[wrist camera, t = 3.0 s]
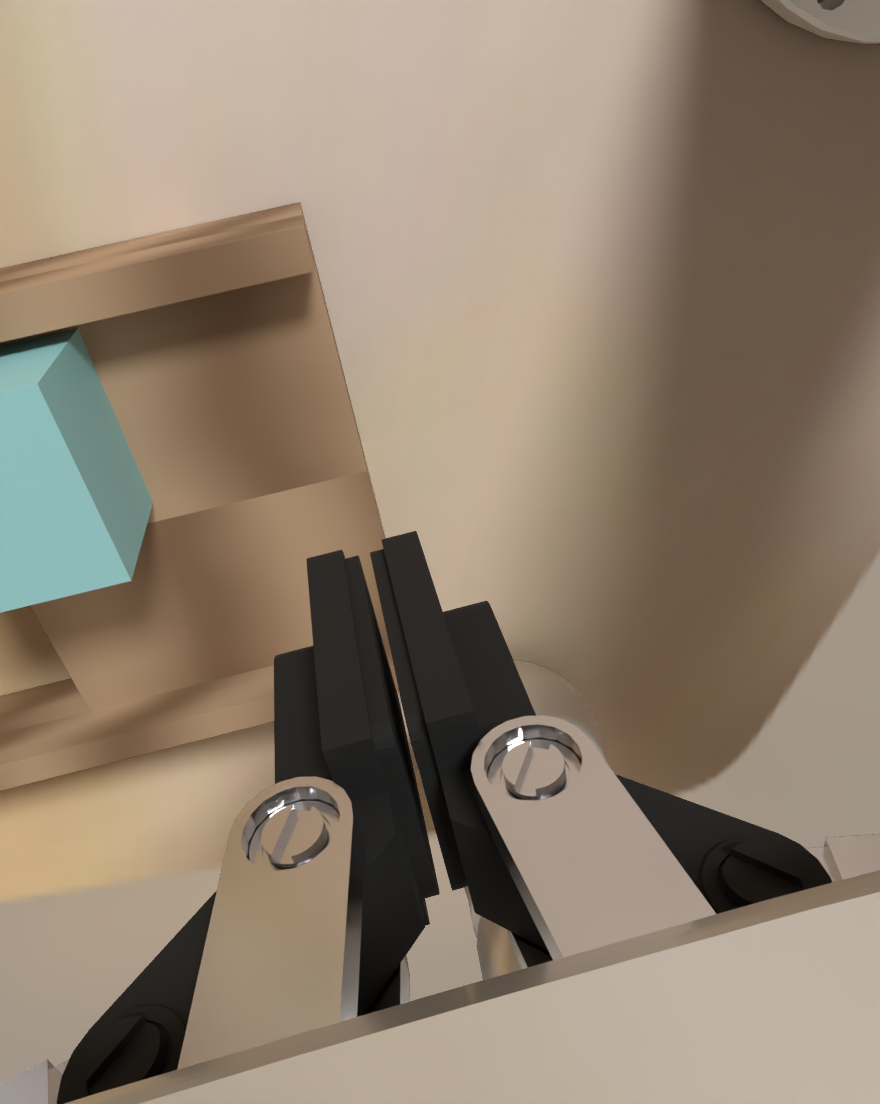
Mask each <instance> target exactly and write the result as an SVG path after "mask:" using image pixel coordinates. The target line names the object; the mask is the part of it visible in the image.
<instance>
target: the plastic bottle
mask: <svg viewBox="0 0 880 1104" xmlns="http://www.w3.org/2000/svg"><path fill="white" fill-rule="evenodd" d="M513 661H514V660H513ZM514 663H515V666H516V668H517V671H518V673H519V675H520V678H521V680H522V683H523V685H524V687H525V690H526V692H527V695H528V697H529V699H530V702H531V704H532V707H533V709H534V711H535V714H536V716H541V715H544V716H549V717H554V718H559V719H562V720H564V721H566V722H568V723H570V724H572V725H574V726H576V727H578V728H579V729H580V730H581V731H582V732H583V733H584V734H585V735H586V736H587V737H588V738H589V739H590V741H591V742H592V743H593V745H594V746H595V748H596V749H597V750H598V752H599V753H600V754H601V756H602V757H603V759H604V760H605V761H606V763H607V759H606V754H605V748H604V745H603V742H602V738H601V735H600V732H599V728H598V725H597V722H596V719H595V717H594V715H593V713H592V711H591V709H590V708H589V706H588V705H587V704H586V703H585V701H584V700H583V699H582V698H581V696H580V695H579V694H578V693H577V691H576V690H575V689H574V688H573V687H572V685H571V684H570V683H569V682H568V681H567V680H566V679H565V678H564V677H562V676H561V675H559V674H558V673H556V672H555V671H552V670H550V669H547V668H544V667H542V666H539V665H535V664H532V663H528V662H523V661H514ZM418 772H419V769H418ZM419 775H420V773H419ZM420 778H421V776H420ZM464 888H465V891H466V894H467V897H468V900H469V905H470V911H471V917H472V922H473V928H474V931H475V934H476V937H477V950H478V955H479V961H480V966H481V972H482V977H483V980H487V979H490V978H494V977H497V976H501V975H504V974H508V973H511V972H515V971H518V970H522V968H521V965H520V963H519V961H518V959H517V957H516V954H515V952H514V950H513V948H512V946H511V942H510V939H509V935H508V931H507V929H505V928H503V927H501V926H499V925H497V924H495V923H493V922H491V921H489V920H488V919H486V918H484V917H482V916H480V915H478V914H476V913H475V912H474V908H473V904H472V900H471V897H470V893H469V889H468V886H467V887H464Z"/></svg>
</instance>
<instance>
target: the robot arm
mask: <svg viewBox="0 0 880 1104" xmlns="http://www.w3.org/2000/svg"><path fill="white" fill-rule="evenodd" d="M761 1H762V2H763V3H764V4H766V5H767V6H768V7H769V8H771V9H772V10H773V11H774V12H776V13H777V14H778V15H779V16H781V17H782V18H783V19H784V20H786V21H787V22H789V23H791V24H794V25H796V26H798V27H800V28H803V29H805V30H807V31H810V32H812V33H814V34H816V35H819V36H821V37H823V38H827V39H834V40H841V41H847V42H854V43H861V44H877V43H880V0H761ZM381 541H382V545H383V549H381V550H377V551H373V552H370V557H371V561H372V566H373V571H374V575H375V580H376V585H377V589H378V594H379V599H380V603H381V608H382V613H383V617H384V622H385V627H386V631H387V636H388V641H389V645H390V650H391V655H392V660H393V664H394V669H395V674H396V678H397V683H398V688H399V692H400V697H401V702H402V706H403V711H404V715H405V720H406V724H407V728H408V732H409V736H410V740H411V744H412V747H413V751H414V755H415V758H416V762H417V765H418V769H419V773H420V776H421V780H422V783H423V787H424V791H425V794H426V798H427V801H428V805H429V809H430V812H431V816H432V819H433V823H434V827H435V830H436V834H437V837H438V841H439V844H440V848H441V852H442V855H443V859H444V863H445V866H446V870H447V873H448V877H449V880H450V884H451V888H452V890H456V889H460V888H463V887H467V886H468V889H469V893H470V897H471V900H472V904H473V908H474V912H475V913H476V914H478V915H480V916H482V917H484V918H486V919H488V920H489V921H491V922H493V923H495V924H497V925H499V926H501V927H503V928H505V929H507V931H508V935H509V939H510V942H511V946H512V948H513V950H514V952H515V954H516V957H517V959H518V961H519V963H520V965H521V968H522V970H518V971H515V972H511V973H508V974H504V975H501V976H497V977H494V978H490V979H487V980H483V981H480V982H477V983H473V984H469V985H466V986H463V987H459V988H456V989H452V990H449V991H445V992H442V993H438V994H435V995H431V996H428V997H424V998H421V999H417V1000H414V1001H411V1002H410V974H409V968H408V962H407V957H406V954H407V953H408V951H409V950H410V948H411V947H412V945H413V944H414V942H415V941H416V939H417V938H418V936H419V935H420V933H421V932H422V931H423V929H424V928H425V925H428V924H430V923H429V918H428V912H427V907H426V902H425V898H428V897H431V896H435V895H438V894H439V888H438V883H437V878H436V874H435V868H434V864H433V859H432V854H431V849H430V845H429V840H428V835H427V830H426V826H425V821H424V816H423V811H422V807H421V802H420V797H419V792H418V788H417V783H416V778H415V773H414V769H413V764H412V759H411V754H410V750H409V745H408V740H407V735H406V731H405V726H404V721H403V716H402V712H401V707H400V703H399V699H398V695H397V691H396V687H395V684H394V680H393V676H392V673H391V669H390V666H389V662H388V658H387V655H386V651H385V648H384V644H383V640H382V637H381V633H380V630H379V626H378V622H377V619H376V615H375V612H374V608H373V604H372V601H371V597H370V594H369V590H368V587H367V583H366V579H365V576H364V572H363V569H362V565H361V561H360V558H359V555H357V556H353V557H349V558H345V555H344V552H343V550H338V551H334V552H330V553H326V554H322V555H318V556H314V557H310V558H307V574H308V586H309V599H310V611H311V623H312V635H313V646H310V647H306V648H302V649H298V650H294V651H290V652H287V653H283V654H279V655H276V656H275V658H274V733H275V785H273V786H271V787H269V788H267V789H265V790H263V791H262V792H261V793H259V794H258V795H257V796H256V797H255V798H253V799H252V800H251V801H250V802H249V803H247V804H246V806H245V807H244V808H243V810H242V811H241V812H240V814H239V815H238V816H237V818H236V819H235V822H234V824H233V827H232V829H231V832H230V834H229V838H228V843H227V847H226V852H225V856H224V861H223V865H222V870H221V874H220V879H219V883H218V888H217V891H216V892H215V893H214V894H213V895H212V896H211V897H210V898H209V900H208V901H207V902H206V903H205V904H204V905H203V906H202V907H201V908H200V909H199V910H198V912H197V913H196V914H195V915H194V916H193V917H192V918H191V919H190V920H189V921H188V923H187V924H186V925H185V926H184V927H183V928H182V929H181V930H180V931H179V932H178V933H177V934H176V936H175V937H174V938H173V939H172V940H171V941H170V942H169V943H168V944H167V945H166V946H165V948H164V949H163V950H162V951H161V952H160V953H159V954H158V955H157V956H156V957H155V959H154V960H153V961H152V962H151V963H150V964H149V965H148V966H147V967H146V968H145V969H144V971H143V972H142V973H141V974H140V975H139V976H138V977H137V978H136V979H135V980H134V982H133V983H132V984H131V985H130V986H129V987H128V988H127V989H126V990H125V992H123V994H122V995H121V996H120V997H119V998H118V999H117V1000H116V1001H115V1002H114V1003H113V1005H112V1006H111V1007H110V1008H109V1009H108V1010H107V1011H106V1012H105V1013H104V1014H103V1015H102V1016H101V1018H100V1019H99V1020H98V1021H97V1022H96V1023H95V1024H94V1025H93V1026H92V1028H91V1029H90V1030H89V1031H88V1033H87V1034H86V1035H85V1036H84V1038H83V1039H82V1041H81V1042H80V1043H79V1044H78V1046H77V1047H76V1048H75V1050H74V1051H73V1053H72V1055H71V1057H70V1059H69V1060H67V1061H65V1062H63V1063H61V1064H59V1065H57V1066H55V1067H54V1066H53V1065H52V1064H51V1063H50V1061H49V1060H48V1059H47V1060H45V1061H43V1062H41V1063H39V1064H37V1065H35V1066H33V1067H31V1068H29V1069H27V1070H25V1071H23V1072H21V1073H19V1074H17V1075H16V1076H13V1077H12V1078H10V1079H8V1080H6V1081H4V1082H2V1083H0V1104H880V834H872V835H857V836H839V837H826V838H825V845H824V847H817V848H804V847H803V846H801V845H800V844H798V843H797V842H795V841H792V840H790V839H788V838H787V837H784V836H783V835H780V834H778V833H776V832H773V831H770V830H767V829H764V828H761V827H759V826H756V825H753V824H750V823H748V822H745V821H742V820H740V819H737V818H734V817H731V816H729V815H726V814H723V813H720V812H717V811H715V810H712V809H709V808H707V807H704V806H701V805H698V804H695V803H693V802H690V801H687V800H684V799H682V798H679V797H676V796H673V795H671V794H668V793H665V792H662V791H660V790H657V789H654V788H651V787H649V786H646V785H643V784H640V783H638V782H635V781H632V780H629V779H626V778H624V777H621V776H618V775H615V774H614V772H613V771H612V770H611V768H610V767H609V765H608V764H607V763H606V761H605V760H604V759H603V757H602V756H601V754H600V753H599V752H598V750H597V749H596V748H595V746H594V745H593V743H592V742H591V741H590V739H589V738H588V737H587V736H586V735H585V734H584V733H583V732H582V731H581V730H580V729H579V728H578V727H576V726H574V725H572V724H570V723H568V722H566V721H564V720H562V719H559V718H554V717H549V716H544V715H541V716H536V714H535V711H534V709H533V707H532V704H531V702H530V699H529V697H528V695H527V692H526V690H525V687H524V685H523V683H522V680H521V678H520V675H519V673H518V671H517V668H516V666H515V663H514V661H513V659H512V656H511V654H510V652H509V649H508V647H507V644H506V642H505V640H504V637H503V635H502V632H501V630H500V628H499V625H498V623H497V620H496V618H495V616H494V613H493V611H492V608H491V606H490V604H489V602H487V601H484V602H480V603H476V604H472V605H468V606H465V607H461V608H457V609H453V610H449V611H445V612H442V609H441V606H440V603H439V600H438V596H437V593H436V590H435V587H434V584H433V581H432V578H431V575H430V572H429V569H428V566H427V563H426V559H425V556H424V553H423V550H422V547H421V544H420V541H419V538H418V535H417V532H416V531H414V532H410V533H406V534H402V535H398V536H394V537H390V538H386V539H382V540H381Z"/></svg>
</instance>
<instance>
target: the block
mask: <svg viewBox="0 0 880 1104" xmlns="http://www.w3.org/2000/svg"><path fill="white" fill-rule="evenodd" d="M152 504H153V501H152V499H151V496H150V494H149V492H148V489H147V487H146V485H145V482H144V480H143V478H142V475H141V473H140V471H139V468H138V466H137V464H136V461H135V459H134V457H133V455H132V452H131V450H130V448H129V445H128V443H127V441H126V438H125V436H124V434H123V431H122V429H121V427H120V424H119V422H118V420H117V417H116V415H115V413H114V410H113V408H112V406H111V403H110V401H109V399H108V396H107V394H106V392H105V389H104V387H103V385H102V383H101V380H100V378H99V376H98V373H97V371H96V369H95V366H94V364H93V362H92V359H91V357H90V355H89V352H88V350H87V348H86V345H85V343H84V341H83V338H82V336H81V334H80V331H79V329H78V328H76V329H71V330H67V331H63V332H58V333H54V334H49V335H45V336H41V337H36V338H32V339H27V340H23V341H18V342H14V343H10V344H5V345H1V346H0V613H1V612H5V611H9V610H13V609H18V608H22V607H26V606H30V605H34V604H38V603H42V602H46V601H50V600H55V599H59V598H63V597H67V596H71V595H75V594H79V593H83V592H87V591H92V590H96V589H100V588H104V587H108V586H112V585H116V584H120V583H125V582H129V581H131V580H132V577H133V573H134V569H135V566H136V562H137V559H138V555H139V551H140V548H141V544H142V541H143V537H144V533H145V530H146V526H147V522H148V519H149V515H150V512H151V508H152Z"/></svg>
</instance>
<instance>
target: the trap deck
mask: <svg viewBox="0 0 880 1104" xmlns="http://www.w3.org/2000/svg"><path fill="white" fill-rule="evenodd" d="M76 328H78V329H79V331H80V334H81V336H82V338H83V341H84V343H85V345H86V348H87V350H88V352H89V355H90V357H91V359H92V362H93V364H94V366H95V369H96V371H97V373H98V376H99V378H100V380H101V383H102V385H103V387H104V389H105V392H106V394H107V396H108V399H109V401H110V403H111V406H112V408H113V410H114V413H115V415H116V417H117V420H118V422H119V424H120V427H121V429H122V431H123V434H124V436H125V438H126V441H127V443H128V445H129V448H130V450H131V452H132V455H133V457H134V459H135V461H136V464H137V466H138V468H139V471H140V473H141V475H142V478H143V480H144V482H145V485H146V487H147V489H148V492H149V494H150V496H151V499H152V501H153V504H152V508H151V512H150V515H149V519H148V522H147V526H146V530H145V533H144V537H143V541H142V544H141V548H140V551H139V555H138V559H137V562H136V566H135V569H134V573H133V577H132V580H131V581H129V582H125V583H120V584H116V585H112V586H108V587H104V588H100V589H96V590H92V591H87V592H83V593H79V594H75V595H71V596H67V597H63V598H59V599H55V600H50V601H46V602H42V603H38V604H34V605H30V607H31V609H32V611H33V612H34V614H35V616H36V618H37V619H38V621H39V623H40V625H41V626H42V628H43V630H44V632H45V633H46V635H47V637H48V638H49V640H50V642H51V644H52V645H53V647H54V649H55V651H56V652H57V654H58V656H59V658H60V659H61V661H62V663H63V665H64V666H65V668H66V670H67V672H68V673H69V675H70V677H71V678H72V679H68V680H64V681H60V682H56V683H52V684H48V685H44V686H40V687H36V688H32V689H28V690H24V691H20V692H16V693H12V694H8V695H4V696H0V791H1V790H5V789H9V788H13V787H17V786H21V785H25V784H29V783H33V782H37V781H41V780H45V779H49V778H52V777H56V776H60V775H64V774H68V773H72V772H76V771H80V770H84V769H88V768H92V767H96V766H100V765H104V764H108V763H111V762H115V761H119V760H123V759H127V758H131V757H135V756H139V755H143V754H147V753H151V752H155V751H159V750H163V749H167V748H170V747H174V746H178V745H182V744H186V743H190V742H194V741H198V740H202V739H206V738H210V737H214V736H218V735H222V734H226V733H229V732H233V731H237V730H241V729H245V728H249V727H253V726H257V725H261V724H265V723H269V722H273V721H274V658H275V656H276V655H279V654H283V653H287V652H290V651H294V650H298V649H302V648H306V647H310V646H313V635H312V623H311V611H310V599H309V586H308V574H307V558H310V557H314V556H318V555H322V554H326V553H330V552H334V551H338V550H343V552H344V555H345V558H349V557H353V556H357V555H359V558H360V561H361V565H362V569H363V572H364V576H365V579H366V583H367V587H368V590H369V594H370V597H371V601H372V604H373V608H374V612H375V615H376V619H377V622H378V626H379V630H380V633H381V637H382V640H383V644H384V648H385V651H386V655H387V658H388V662H389V666H390V669H391V673H392V676H393V680H394V684H395V687H396V690H399V688H398V683H397V678H396V674H395V669H394V664H393V660H392V655H391V650H390V645H389V641H388V636H387V631H386V627H385V622H384V617H383V613H382V608H381V603H380V599H379V594H378V589H377V585H376V580H375V575H374V571H373V566H372V561H371V557H370V552H373V551H377V550H381V549H383V545H382V541H381V540H382V539H385V535H384V531H383V527H382V523H381V519H380V515H379V511H378V507H377V503H376V499H375V495H374V491H373V488H372V484H371V480H370V476H369V472H368V468H367V464H366V460H365V456H364V452H363V448H362V444H361V440H360V436H359V432H358V428H357V425H356V421H355V417H354V413H353V409H352V405H351V401H350V397H349V393H348V389H347V385H346V381H345V377H344V373H343V369H342V365H341V361H340V358H339V354H338V350H337V346H336V342H335V338H334V334H333V330H332V326H331V322H330V318H329V314H328V310H327V306H326V302H325V298H324V295H323V291H322V287H321V283H320V279H319V275H318V271H317V267H316V263H315V259H314V255H313V251H312V247H311V243H310V239H309V235H308V232H307V228H306V224H305V220H304V216H303V212H302V208H301V204H300V202H299V203H294V204H290V205H285V206H281V207H276V208H272V209H267V210H263V211H258V212H254V213H249V214H244V215H240V216H235V217H231V218H226V219H222V220H217V221H213V222H208V223H204V224H199V225H195V226H190V227H186V228H181V229H177V230H172V231H168V232H163V233H159V234H154V235H150V236H145V237H141V238H136V239H132V240H127V241H123V242H118V243H114V244H109V245H104V246H100V247H95V248H91V249H86V250H82V251H77V252H73V253H68V254H64V255H59V256H55V257H50V258H46V259H41V260H37V261H32V262H28V263H23V264H19V265H14V266H10V267H5V268H1V269H0V346H1V345H5V344H10V343H14V342H18V341H23V340H27V339H32V338H36V337H41V336H45V335H49V334H54V333H58V332H63V331H67V330H71V329H76Z"/></svg>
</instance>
